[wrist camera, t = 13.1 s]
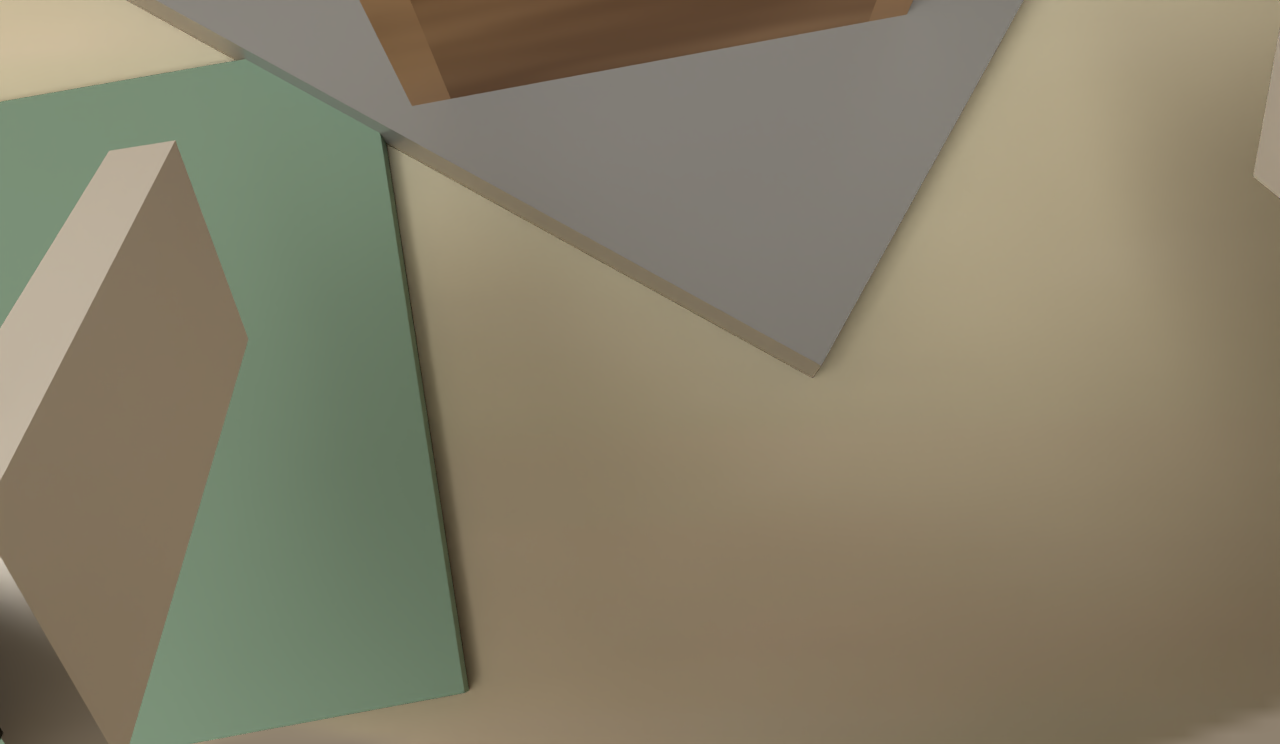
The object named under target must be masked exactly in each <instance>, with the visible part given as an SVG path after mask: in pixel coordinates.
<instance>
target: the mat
mask: <svg viewBox="0 0 1280 744" xmlns="http://www.w3.org/2000/svg"><path fill="white" fill-rule="evenodd" d="M174 140H175V141H176V144H177V146H178V149H179V152H180V154H181V157H182V160H183V163H184V165H185V168H186V171H187V173H188V176H189V179H190V182H191V184H192V187H193V190H194V192H195V195H196V198H197V201H198V203H199V206H200V209H201V212H202V214H203V217H204V220H205V222H206V225H207V228H208V231H209V233H210V236H211V239H212V241H213V244H214V247H215V250H216V252H217V255H218V258H219V260H220V263H221V266H222V269H223V271H224V274H225V277H226V279H227V282H228V285H229V288H230V290H231V293H232V296H233V299H234V301H235V304H236V307H237V309H238V312H239V315H240V318H241V320H242V323H243V326H244V328H245V331H246V334H247V337H248V342H247V346H246V349H245V352H244V356H243V359H242V363H241V366H240V370H239V373H238V376H237V380H236V383H235V387H234V390H233V393H232V397H231V400H230V404H229V407H228V410H227V414H226V417H225V421H224V424H223V427H222V431H221V434H220V438H219V441H218V444H217V448H216V451H215V455H214V458H213V461H212V465H211V468H210V472H209V475H208V478H207V482H206V485H205V489H204V492H203V495H202V499H201V502H200V506H199V509H198V512H197V516H196V519H195V523H194V526H193V529H192V533H191V536H190V540H189V543H188V546H187V550H186V553H185V557H184V560H183V563H182V567H181V570H180V574H179V577H178V580H177V584H176V587H175V591H174V594H173V597H172V601H171V604H170V608H169V611H168V614H167V618H166V621H165V625H164V628H163V632H162V635H161V638H160V642H159V645H158V649H157V652H156V655H155V659H154V662H153V666H152V669H151V672H150V676H149V679H148V683H147V686H146V689H145V693H144V696H143V700H142V703H141V706H140V710H139V713H138V717H137V720H136V723H135V727H134V730H133V734H132V737H131V740H130V744H192V743H197V742H203V741H208V740H214V739H219V738H224V737H230V736H235V735H241V734H246V733H251V732H257V731H262V730H267V729H273V728H278V727H284V726H289V725H294V724H300V723H305V722H311V721H316V720H321V719H327V718H332V717H338V716H343V715H348V714H354V713H359V712H364V711H370V710H375V709H381V708H386V707H391V706H397V705H402V704H408V703H413V702H418V701H424V700H429V699H434V698H440V697H445V696H451V695H456V694H461V693H465V692H467V691H469V688H468V681H467V675H466V668H465V662H464V655H463V648H462V642H461V635H460V628H459V622H458V615H457V609H456V602H455V595H454V589H453V582H452V576H451V569H450V562H449V556H448V549H447V543H446V536H445V529H444V523H443V516H442V510H441V503H440V496H439V490H438V483H437V476H436V470H435V463H434V457H433V450H432V443H431V437H430V430H429V424H428V417H427V410H426V404H425V397H424V391H423V384H422V377H421V371H420V364H419V358H418V351H417V344H416V338H415V331H414V324H413V318H412V311H411V305H410V298H409V291H408V285H407V278H406V272H405V265H404V258H403V252H402V245H401V239H400V232H399V225H398V219H397V212H396V206H395V199H394V192H393V186H392V179H391V172H390V166H389V159H388V153H387V146H386V142H385V141H384V139H383V137H382V136H381V134H380V133H379V132H377V131H375V130H373V129H372V128H370V127H368V126H366V125H364V124H362V123H361V122H359V121H357V120H355V119H353V118H352V117H350V116H348V115H346V114H344V113H342V112H341V111H339V110H337V109H335V108H333V107H332V106H330V105H328V104H326V103H324V102H322V101H321V100H319V99H317V98H315V97H313V96H312V95H310V94H308V93H306V92H304V91H302V90H301V89H299V88H297V87H295V86H293V85H292V84H290V83H288V82H286V81H284V80H282V79H281V78H279V77H277V76H275V75H273V74H272V73H270V72H268V71H266V70H264V69H262V68H261V67H259V66H257V65H255V64H253V63H252V62H250V61H248V60H246V59H243V60H237V61H232V62H226V63H220V64H214V65H209V66H203V67H197V68H191V69H186V70H180V71H174V72H169V73H163V74H157V75H151V76H146V77H140V78H134V79H128V80H123V81H117V82H111V83H105V84H100V85H94V86H88V87H83V88H77V89H71V90H65V91H60V92H54V93H48V94H42V95H37V96H31V97H25V98H19V99H14V100H8V101H2V102H0V328H1V326H2V324H3V323H4V321H5V319H6V318H7V316H8V315H9V313H10V311H11V310H12V308H13V306H14V305H15V303H16V301H17V300H18V298H19V297H20V295H21V293H22V292H23V290H24V288H25V287H26V285H27V284H28V282H29V280H30V279H31V277H32V275H33V274H34V272H35V271H36V269H37V267H38V266H39V264H40V262H41V261H42V259H43V258H44V256H45V254H46V253H47V251H48V249H49V248H50V246H51V244H52V243H53V241H54V240H55V238H56V236H57V235H58V233H59V231H60V230H61V228H62V227H63V225H64V223H65V222H66V220H67V218H68V217H69V215H70V214H71V212H72V210H73V209H74V207H75V205H76V204H77V202H78V201H79V199H80V197H81V196H82V194H83V192H84V191H85V189H86V187H87V186H88V184H89V183H90V181H91V179H92V178H93V176H94V174H95V173H96V171H97V170H98V168H99V166H100V165H101V163H102V161H103V160H104V158H105V157H106V155H107V153H108V152H109V151H111V150H117V149H124V148H130V147H136V146H142V145H149V144H155V143H161V142H168V141H174ZM0 744H5V743H4V742H3V740H2V739H1V740H0Z"/></svg>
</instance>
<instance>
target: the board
mask: <svg viewBox="0 0 1280 744" xmlns="http://www.w3.org/2000/svg"><path fill="white" fill-rule="evenodd" d="M127 1H129V2H131V3H132V4H134V5H136V6H138V7H140V8H142V9H143V10H145V11H147V12H149V13H151V14H152V15H154V16H156V17H158V18H160V19H162V20H163V21H165V22H167V23H169V24H171V25H172V26H174V27H176V28H178V29H180V30H182V31H183V32H185V33H187V34H189V35H191V36H192V37H194V38H196V39H198V40H200V41H201V42H203V43H205V44H207V45H209V46H211V47H212V48H214V49H216V50H218V51H220V52H221V53H223V54H225V55H227V56H229V57H231V58H232V59H234V60H236V61H237V60H243V59H246V60H248V61H250V62H252V63H253V64H255V65H257V66H259V67H261V68H262V69H264V70H266V71H268V72H270V73H272V74H273V75H275V76H277V77H279V78H281V79H282V80H284V81H286V82H288V83H290V84H292V85H293V86H295V87H297V88H299V89H301V90H302V91H304V92H306V93H308V94H310V95H312V96H313V97H315V98H317V99H319V100H321V101H322V102H324V103H326V104H328V105H330V106H332V107H333V108H335V109H337V110H339V111H341V112H342V113H344V114H346V115H348V116H350V117H352V118H353V119H355V120H357V121H359V122H361V123H362V124H364V125H366V126H368V127H370V128H372V129H373V130H375V131H377V132H379V133H380V134H381V136H382V137H383V139H384V141H385V142H386V143H387V144H388V145H390V146H392V147H394V148H396V149H398V150H399V151H401V152H403V153H405V154H407V155H408V156H410V157H412V158H414V159H416V160H418V161H419V162H421V163H423V164H425V165H427V166H428V167H430V168H432V169H434V170H436V171H438V172H439V173H441V174H443V175H445V176H447V177H448V178H450V179H452V180H454V181H456V182H457V183H459V184H461V185H463V186H465V187H467V188H468V189H470V190H472V191H474V192H476V193H477V194H479V195H481V196H483V197H485V198H487V199H488V200H490V201H492V202H494V203H496V204H497V205H499V206H501V207H503V208H505V209H506V210H508V211H510V212H512V213H514V214H516V215H517V216H519V217H521V218H523V219H525V220H526V221H528V222H530V223H532V224H534V225H536V226H537V227H539V228H541V229H543V230H545V231H546V232H548V233H550V234H552V235H554V236H556V237H557V238H559V239H561V240H563V241H565V242H566V243H568V244H570V245H572V246H574V247H575V248H577V249H579V250H581V251H583V252H585V253H586V254H588V255H590V256H592V257H594V258H595V259H597V260H599V261H601V262H603V263H605V264H606V265H608V266H610V267H612V268H614V269H615V270H617V271H619V272H621V273H623V274H625V275H626V276H628V277H630V278H632V279H634V280H635V281H637V282H639V283H641V284H643V285H644V286H646V287H648V288H650V289H652V290H654V291H655V292H657V293H659V294H661V295H663V296H664V297H666V298H668V299H670V300H672V301H674V302H675V303H677V304H679V305H681V306H683V307H684V308H686V309H688V310H690V311H692V312H693V313H695V314H697V315H699V316H701V317H703V318H704V319H706V320H708V321H710V322H712V323H713V324H715V325H717V326H719V327H721V328H723V329H724V330H726V331H728V332H730V333H732V334H733V335H735V336H737V337H739V338H741V339H743V340H744V341H746V342H748V343H750V344H752V345H753V346H755V347H757V348H759V349H761V350H762V351H764V352H766V353H768V354H770V355H772V356H773V357H775V358H777V359H779V360H781V361H782V362H784V363H786V364H788V365H790V366H792V367H793V368H795V369H797V370H799V371H801V372H802V373H804V374H806V375H808V376H810V377H811V378H813V376H814V375H815V374H816V372H817V371H818V370H819V368H820V367H821V365H822V363H823V362H824V360H825V358H826V356H827V354H828V353H829V351H830V349H831V347H832V345H833V344H834V342H835V340H836V338H837V336H838V335H839V333H840V331H841V329H842V327H843V326H844V324H845V322H846V320H847V318H848V317H849V315H850V313H851V311H852V309H853V308H854V306H855V304H856V302H857V300H858V298H859V297H860V295H861V293H862V291H863V289H864V288H865V286H866V284H867V282H868V280H869V279H870V277H871V275H872V273H873V271H874V270H875V268H876V266H877V264H878V262H879V261H880V259H881V257H882V255H883V253H884V252H885V250H886V248H887V246H888V244H889V243H890V241H891V239H892V237H893V235H894V233H895V232H896V230H897V228H898V226H899V224H900V223H901V221H902V219H903V217H904V215H905V214H906V212H907V210H908V208H909V206H910V205H911V203H912V201H913V199H914V197H915V196H916V194H917V192H918V190H919V188H920V187H921V185H922V183H923V181H924V179H925V177H926V176H927V174H928V172H929V170H930V168H931V167H932V165H933V163H934V161H935V159H936V158H937V156H938V154H939V152H940V150H941V149H942V147H943V145H944V143H945V141H946V140H947V138H948V136H949V134H950V132H951V131H952V129H953V127H954V125H955V123H956V122H957V120H958V118H959V116H960V114H961V112H962V111H963V109H964V107H965V105H966V103H967V102H968V100H969V98H970V96H971V94H972V93H973V91H974V89H975V87H976V85H977V84H978V82H979V80H980V78H981V76H982V75H983V73H984V71H985V69H986V67H987V66H988V64H989V62H990V60H991V58H992V57H993V55H994V53H995V51H996V49H997V47H998V46H999V44H1000V42H1001V40H1002V38H1003V37H1004V35H1005V33H1006V31H1007V29H1008V28H1009V26H1010V24H1011V22H1012V20H1013V19H1014V17H1015V15H1016V13H1017V11H1018V10H1019V8H1020V6H1021V4H1022V2H1023V1H1024V0H913V1H912V4H911V6H910V8H909V11H908V13H907V15H902V16H896V17H891V18H885V19H880V20H875V21H869V22H864V23H858V24H853V25H848V26H842V27H837V28H831V29H826V30H820V31H815V32H810V33H804V34H799V35H793V36H788V37H783V38H777V39H772V40H766V41H761V42H756V43H750V44H745V45H739V46H734V47H729V48H723V49H718V50H712V51H707V52H702V53H696V54H691V55H685V56H680V57H674V58H669V59H664V60H658V61H653V62H647V63H642V64H637V65H631V66H626V67H620V68H615V69H610V70H604V71H599V72H593V73H588V74H583V75H577V76H572V77H566V78H561V79H556V80H550V81H545V82H539V83H534V84H529V85H523V86H518V87H512V88H507V89H501V90H496V91H491V92H485V93H480V94H474V95H469V96H464V97H458V98H453V99H447V100H442V101H437V102H431V103H426V104H420V105H415V106H412V105H411V103H410V101H409V99H408V97H407V95H406V93H405V91H404V89H403V87H402V85H401V83H400V81H399V79H398V77H397V75H396V73H395V71H394V69H393V67H392V65H391V63H390V61H389V59H388V57H387V55H386V53H385V51H384V49H383V47H382V45H381V43H380V41H379V39H378V37H377V35H376V33H375V31H374V29H373V27H372V25H371V23H370V21H369V19H368V17H367V15H366V13H365V11H364V9H363V7H362V5H361V3H360V1H359V0H127Z"/></svg>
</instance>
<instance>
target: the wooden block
mask: <svg viewBox="0 0 1280 744" xmlns="http://www.w3.org/2000/svg"><path fill="white" fill-rule="evenodd" d="M359 1H360V3H361V5H362V7H363V9H364V11H365V13H366V15H367V17H368V19H369V21H370V23H371V25H372V27H373V29H374V31H375V33H376V35H377V37H378V39H379V41H380V43H381V45H382V47H383V49H384V51H385V53H386V55H387V57H388V59H389V61H390V63H391V65H392V67H393V69H394V71H395V73H396V75H397V77H398V79H399V81H400V83H401V85H402V87H403V89H404V91H405V93H406V95H407V97H408V99H409V101H410V103H411V105H412V106H415V105H420V104H426V103H431V102H437V101H442V100H447V99H453V98H458V97H464V96H469V95H474V94H480V93H485V92H491V91H496V90H501V89H507V88H512V87H518V86H523V85H529V84H534V83H539V82H545V81H550V80H556V79H561V78H566V77H572V76H577V75H583V74H588V73H593V72H599V71H604V70H610V69H615V68H620V67H626V66H631V65H637V64H642V63H647V62H653V61H658V60H664V59H669V58H674V57H680V56H685V55H691V54H696V53H702V52H707V51H712V50H718V49H723V48H729V47H734V46H739V45H745V44H750V43H756V42H761V41H766V40H772V39H777V38H783V37H788V36H793V35H799V34H804V33H810V32H815V31H820V30H826V29H831V28H837V27H842V26H848V25H853V24H858V23H864V22H869V21H875V20H880V19H885V18H891V17H896V16H902V15H907V13H908V11H909V8H910V6H911V4H912V1H913V0H359Z"/></svg>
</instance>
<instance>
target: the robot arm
mask: <svg viewBox="0 0 1280 744" xmlns="http://www.w3.org/2000/svg"><path fill="white" fill-rule="evenodd" d="M1253 177H1254V178H1255V179H1257V180H1258V181H1259V182H1260V183H1261V184H1263V185H1264V186H1265V187H1266V188H1268V189H1269V190H1270V191H1271V192H1272V193H1274V194H1275V195H1276V196H1277V197H1278V198H1280V29H1279V35H1278V40H1277V46H1276V51H1275V57H1274V62H1273V68H1272V74H1271V79H1270V85H1269V90H1268V96H1267V101H1266V107H1265V112H1264V118H1263V124H1262V129H1261V135H1260V140H1259V146H1258V151H1257V157H1256V162H1255V168H1254V174H1253ZM247 342H248V337H247V334H246V331H245V328H244V326H243V323H242V320H241V318H240V315H239V312H238V309H237V307H236V304H235V301H234V299H233V296H232V293H231V290H230V288H229V285H228V282H227V279H226V277H225V274H224V271H223V269H222V266H221V263H220V260H219V258H218V255H217V252H216V250H215V247H214V244H213V241H212V239H211V236H210V233H209V231H208V228H207V225H206V222H205V220H204V217H203V214H202V212H201V209H200V206H199V203H198V201H197V198H196V195H195V192H194V190H193V187H192V184H191V182H190V179H189V176H188V173H187V171H186V168H185V165H184V163H183V160H182V157H181V154H180V152H179V149H178V146H177V144H176V141H175V140H174V141H168V142H161V143H155V144H149V145H142V146H136V147H130V148H124V149H117V150H111V151H109V152H108V153H107V155H106V157H105V158H104V160H103V161H102V163H101V165H100V166H99V168H98V170H97V171H96V173H95V174H94V176H93V178H92V179H91V181H90V183H89V184H88V186H87V187H86V189H85V191H84V192H83V194H82V196H81V197H80V199H79V201H78V202H77V204H76V205H75V207H74V209H73V210H72V212H71V214H70V215H69V217H68V218H67V220H66V222H65V223H64V225H63V227H62V228H61V230H60V231H59V233H58V235H57V236H56V238H55V240H54V241H53V243H52V244H51V246H50V248H49V249H48V251H47V253H46V254H45V256H44V258H43V259H42V261H41V262H40V264H39V266H38V267H37V269H36V271H35V272H34V274H33V275H32V277H31V279H30V280H29V282H28V284H27V285H26V287H25V288H24V290H23V292H22V293H21V295H20V297H19V298H18V300H17V301H16V303H15V305H14V306H13V308H12V310H11V311H10V313H9V315H8V316H7V318H6V319H5V321H4V323H3V324H2V326H1V328H0V740H1V739H2V740H3V742H4V743H5V744H130V740H131V737H132V734H133V730H134V727H135V723H136V720H137V717H138V713H139V710H140V706H141V703H142V700H143V696H144V693H145V689H146V686H147V683H148V679H149V676H150V672H151V669H152V666H153V662H154V659H155V655H156V652H157V649H158V645H159V642H160V638H161V635H162V632H163V628H164V625H165V621H166V618H167V614H168V611H169V608H170V604H171V601H172V597H173V594H174V591H175V587H176V584H177V580H178V577H179V574H180V570H181V567H182V563H183V560H184V557H185V553H186V550H187V546H188V543H189V540H190V536H191V533H192V529H193V526H194V523H195V519H196V516H197V512H198V509H199V506H200V502H201V499H202V495H203V492H204V489H205V485H206V482H207V478H208V475H209V472H210V468H211V465H212V461H213V458H214V455H215V451H216V448H217V444H218V441H219V438H220V434H221V431H222V427H223V424H224V421H225V417H226V414H227V410H228V407H229V404H230V400H231V397H232V393H233V390H234V387H235V383H236V380H237V376H238V373H239V370H240V366H241V363H242V359H243V356H244V352H245V349H246V346H247Z"/></svg>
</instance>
